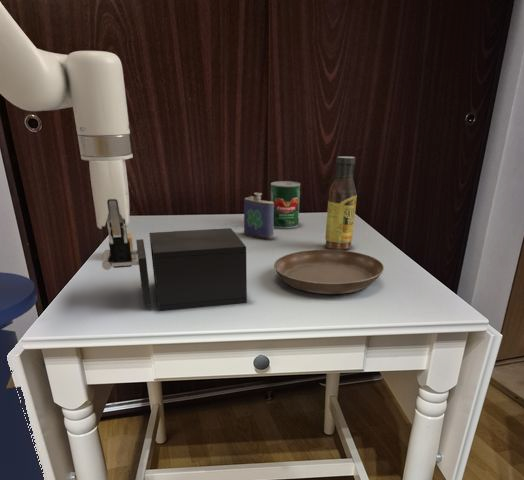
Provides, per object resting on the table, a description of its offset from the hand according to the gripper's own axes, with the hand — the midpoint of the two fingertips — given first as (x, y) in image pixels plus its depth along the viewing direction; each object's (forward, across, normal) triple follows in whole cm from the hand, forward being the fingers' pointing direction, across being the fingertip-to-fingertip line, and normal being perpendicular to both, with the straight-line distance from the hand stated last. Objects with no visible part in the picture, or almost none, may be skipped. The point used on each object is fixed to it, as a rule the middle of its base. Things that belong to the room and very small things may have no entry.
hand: (122, 265), depth 81 cm
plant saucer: (+6, -1, +38) cm, 38 cm away
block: (+6, -26, 0) cm, 27 cm away
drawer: (+5, 0, +7) cm, 8 cm away
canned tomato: (+6, -46, +42) cm, 63 cm away
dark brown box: (+6, 0, +12) cm, 14 cm away
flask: (+6, -36, +32) cm, 49 cm away
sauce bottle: (+6, -22, +48) cm, 54 cm away
